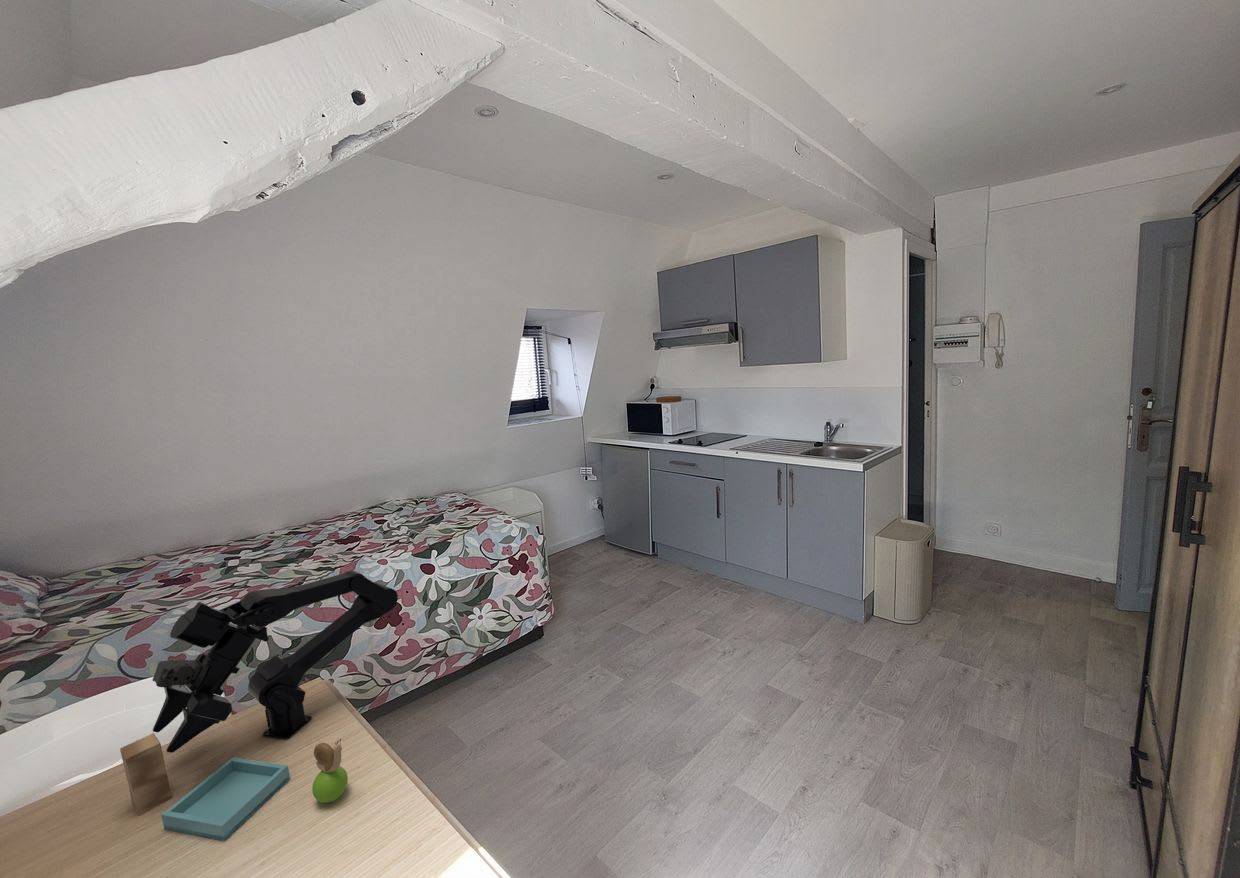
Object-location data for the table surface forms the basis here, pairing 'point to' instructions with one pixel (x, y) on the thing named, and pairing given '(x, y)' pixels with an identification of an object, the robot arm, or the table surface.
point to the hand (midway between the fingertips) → (162, 741)
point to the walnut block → (146, 773)
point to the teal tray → (226, 798)
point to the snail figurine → (329, 773)
